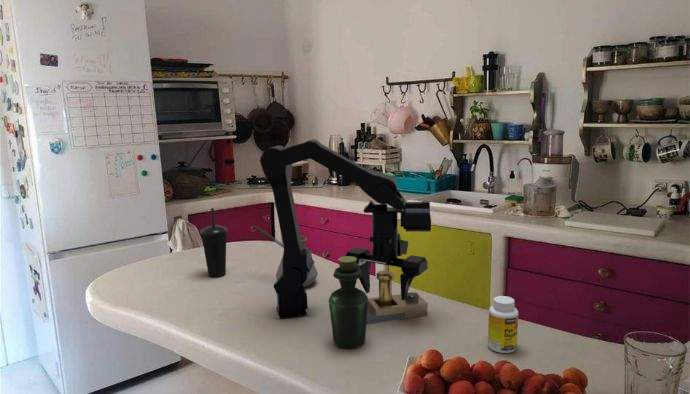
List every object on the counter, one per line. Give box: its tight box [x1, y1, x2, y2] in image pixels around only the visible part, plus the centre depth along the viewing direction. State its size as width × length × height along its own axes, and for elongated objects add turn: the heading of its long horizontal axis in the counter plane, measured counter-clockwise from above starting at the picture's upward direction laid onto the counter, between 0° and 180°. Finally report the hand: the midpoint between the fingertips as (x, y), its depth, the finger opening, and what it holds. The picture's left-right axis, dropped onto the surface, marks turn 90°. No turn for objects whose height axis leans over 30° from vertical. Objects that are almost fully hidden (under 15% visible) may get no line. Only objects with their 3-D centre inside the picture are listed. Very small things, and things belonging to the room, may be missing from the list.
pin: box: [376, 270, 395, 307], centre depth 117 cm, size 4×4×10 cm
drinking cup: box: [199, 207, 228, 279], centre depth 145 cm, size 8×8×20 cm
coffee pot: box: [249, 224, 319, 289], centre depth 140 cm, size 21×12×15 cm, turn 57°
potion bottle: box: [328, 255, 369, 350], centre depth 103 cm, size 8×8×18 cm
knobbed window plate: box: [366, 291, 429, 325], centre depth 117 cm, size 18×7×4 cm, turn 104°
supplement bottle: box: [487, 295, 519, 354], centre depth 100 cm, size 6×6×10 cm
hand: (385, 296), depth 117 cm, fingers open, 9 cm apart
